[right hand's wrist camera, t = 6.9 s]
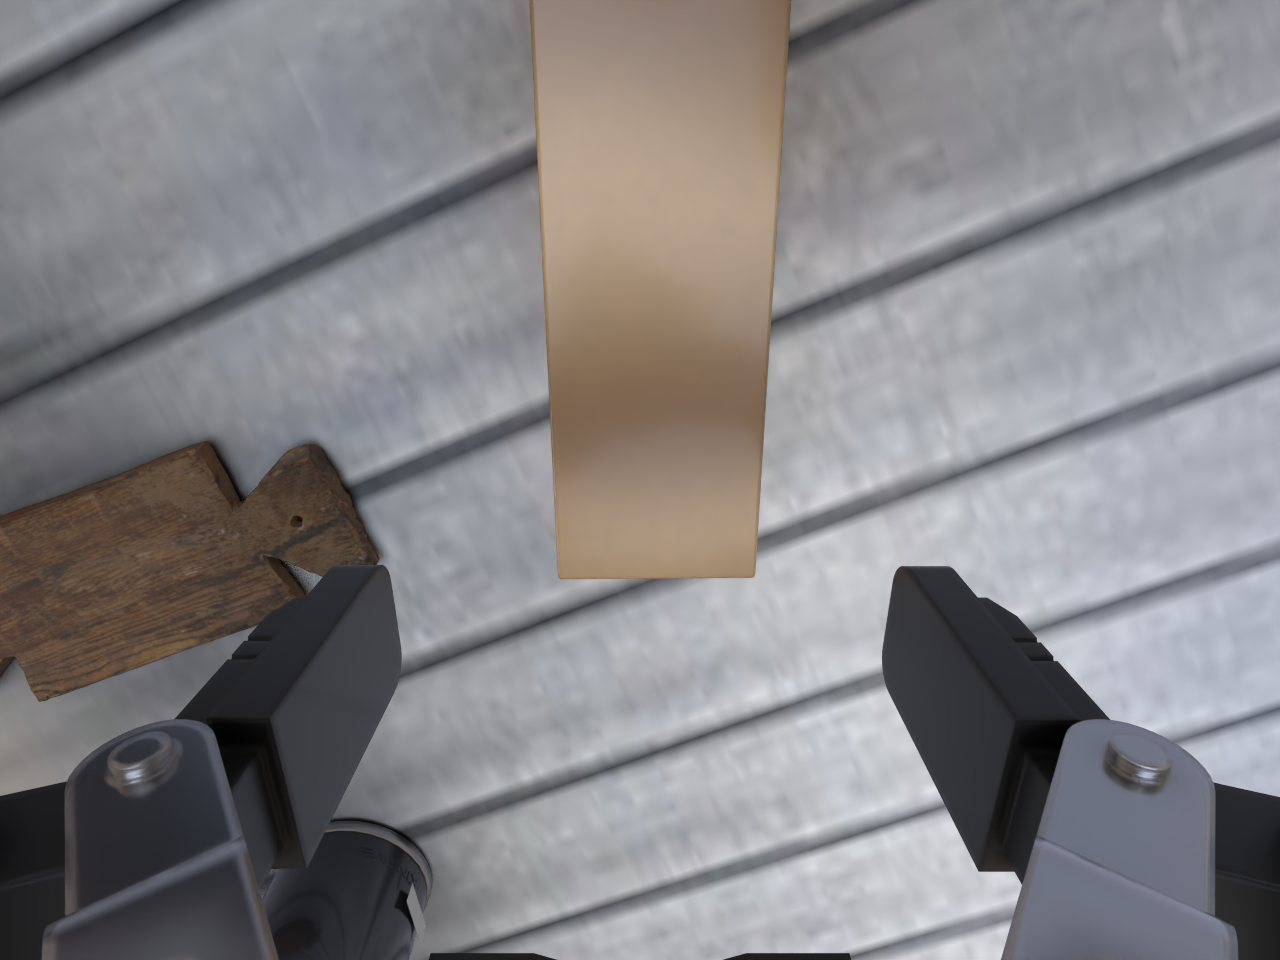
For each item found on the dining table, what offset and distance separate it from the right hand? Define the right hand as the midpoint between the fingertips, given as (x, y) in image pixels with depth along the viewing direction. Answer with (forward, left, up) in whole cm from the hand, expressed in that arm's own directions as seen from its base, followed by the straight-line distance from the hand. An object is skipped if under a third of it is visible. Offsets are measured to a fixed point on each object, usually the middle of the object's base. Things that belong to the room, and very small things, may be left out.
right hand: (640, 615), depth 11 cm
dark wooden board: (-27, +10, -24) cm, 37 cm away
